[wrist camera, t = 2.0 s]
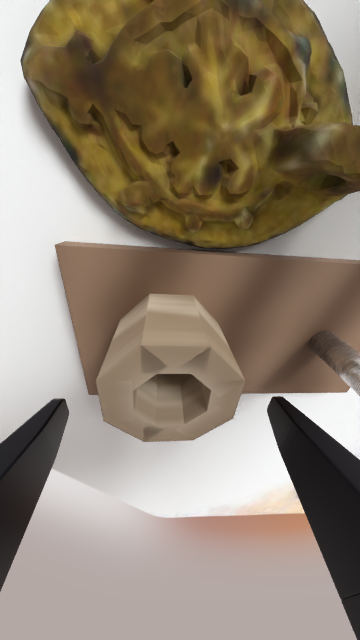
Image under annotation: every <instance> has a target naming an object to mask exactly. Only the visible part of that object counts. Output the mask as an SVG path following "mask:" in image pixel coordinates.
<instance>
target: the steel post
mask: <svg viewBox="0 0 360 640" xmlns="http://www.w3.org/2000/svg"><path fill="white" fill-rule="evenodd" d="M308 345H309V348H310V349H311V350H312V351H313V352H314V353H315V354H316V355H317V356H318V357H319V358H320V359H322V360H323V361H324V362H325V363H326V364H327V365H328V366H329V367H330V368H331V369H332V370H333V371H334V372H335V373H336V374H337V375H338V376H339V377H340V378H341V379H343V380H344V381H345V382H346V383H347V384H348V385H349V386H350V387H351V388H352V389H353V390H354V391H355V392H356V393H357V394H358V395H359V396H360V352H358V351H357V350H356V349H354V348H353V347H352V346H350V345H349V344H347V343H346V342H345V341H343V340H342V339H341V338H339V337H338V336H336V335H335V334H334V333H332V332H331V331H328V330H324V331H320V332H318V333H316V334H315V335H313V336H312V337H311V339H310V340H309V344H308Z"/></svg>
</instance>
